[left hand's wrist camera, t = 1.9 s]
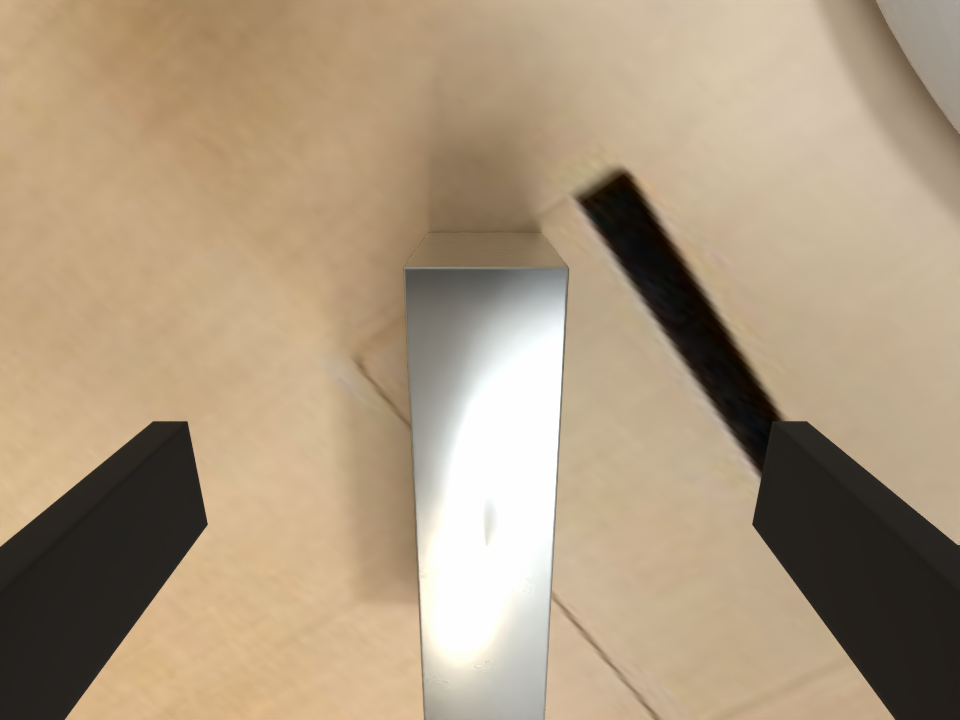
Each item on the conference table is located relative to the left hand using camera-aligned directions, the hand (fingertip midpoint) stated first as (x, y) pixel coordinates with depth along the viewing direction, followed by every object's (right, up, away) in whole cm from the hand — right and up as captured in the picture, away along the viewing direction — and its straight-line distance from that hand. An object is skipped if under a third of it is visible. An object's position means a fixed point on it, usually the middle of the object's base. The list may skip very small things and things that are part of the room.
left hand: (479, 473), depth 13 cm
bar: (0, -2, +16) cm, 16 cm away
